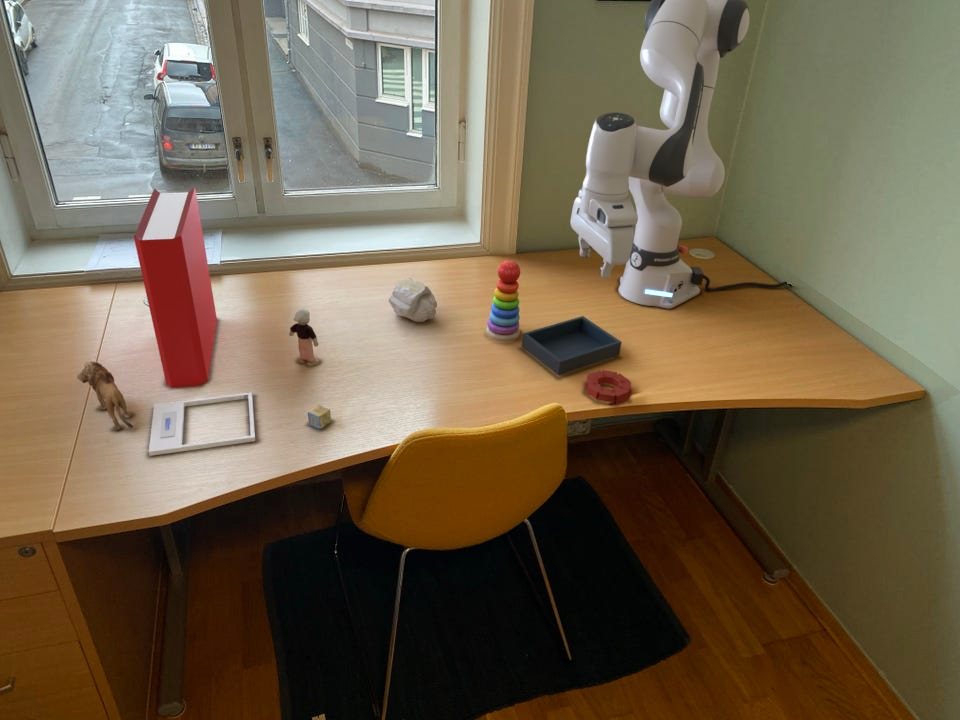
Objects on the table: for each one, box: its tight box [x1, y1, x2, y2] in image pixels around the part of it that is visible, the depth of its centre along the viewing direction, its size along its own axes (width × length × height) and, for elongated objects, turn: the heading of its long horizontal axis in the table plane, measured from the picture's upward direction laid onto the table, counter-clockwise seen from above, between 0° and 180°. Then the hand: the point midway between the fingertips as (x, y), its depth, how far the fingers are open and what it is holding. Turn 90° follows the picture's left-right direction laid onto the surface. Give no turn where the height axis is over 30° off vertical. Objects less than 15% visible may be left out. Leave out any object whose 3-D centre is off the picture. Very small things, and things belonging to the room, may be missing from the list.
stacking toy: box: [485, 260, 521, 342], centre depth 166 cm, size 8×8×19 cm
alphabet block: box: [307, 404, 332, 430], centre depth 138 cm, size 3×3×3 cm
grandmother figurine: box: [288, 307, 320, 367], centre depth 154 cm, size 8×4×13 cm, turn 71°
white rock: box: [388, 277, 438, 323], centre depth 174 cm, size 12×8×10 cm
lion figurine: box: [76, 360, 134, 431], centre depth 136 cm, size 15×5×9 cm, turn 50°
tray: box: [521, 315, 623, 376], centre depth 164 cm, size 18×14×4 cm
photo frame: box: [148, 391, 256, 457], centre depth 137 cm, size 15×1×18 cm
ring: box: [584, 369, 632, 406], centre depth 152 cm, size 9×9×2 cm
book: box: [133, 187, 218, 389], centre depth 149 cm, size 27×8×32 cm, turn 13°
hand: (594, 266), depth 148 cm, fingers open, 8 cm apart
